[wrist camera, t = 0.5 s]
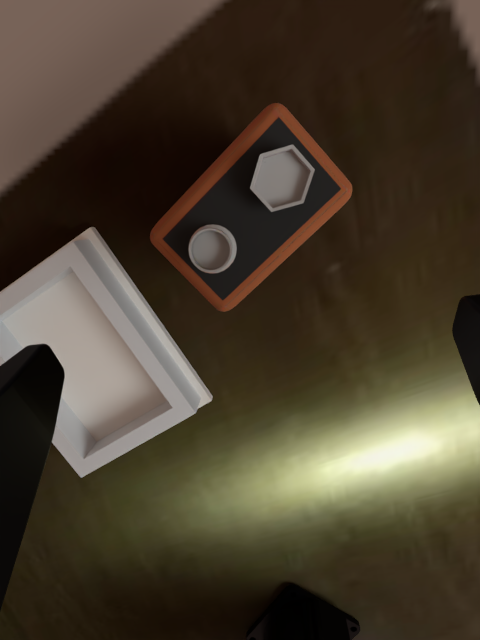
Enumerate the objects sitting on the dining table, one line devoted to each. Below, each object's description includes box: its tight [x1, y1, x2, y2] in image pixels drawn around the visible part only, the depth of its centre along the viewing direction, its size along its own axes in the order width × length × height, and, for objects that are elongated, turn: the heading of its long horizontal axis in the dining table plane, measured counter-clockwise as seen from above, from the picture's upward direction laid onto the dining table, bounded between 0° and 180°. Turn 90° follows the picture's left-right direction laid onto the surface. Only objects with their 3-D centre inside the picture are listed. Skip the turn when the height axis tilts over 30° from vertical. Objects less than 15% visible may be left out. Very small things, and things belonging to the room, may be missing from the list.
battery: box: [150, 103, 352, 311], centre depth 18 cm, size 4×7×10 cm, turn 134°
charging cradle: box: [0, 227, 213, 478], centre depth 24 cm, size 13×10×3 cm
